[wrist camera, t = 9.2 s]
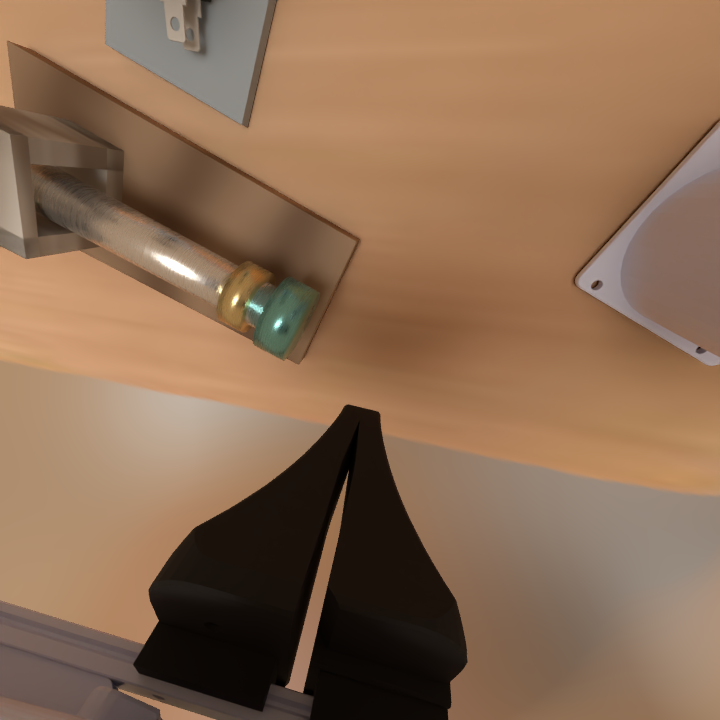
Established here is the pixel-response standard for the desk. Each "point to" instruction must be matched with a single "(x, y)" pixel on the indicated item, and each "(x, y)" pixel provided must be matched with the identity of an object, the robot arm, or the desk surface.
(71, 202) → the shaft
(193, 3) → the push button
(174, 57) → the pad
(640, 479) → the desk surface
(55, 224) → the bracket
